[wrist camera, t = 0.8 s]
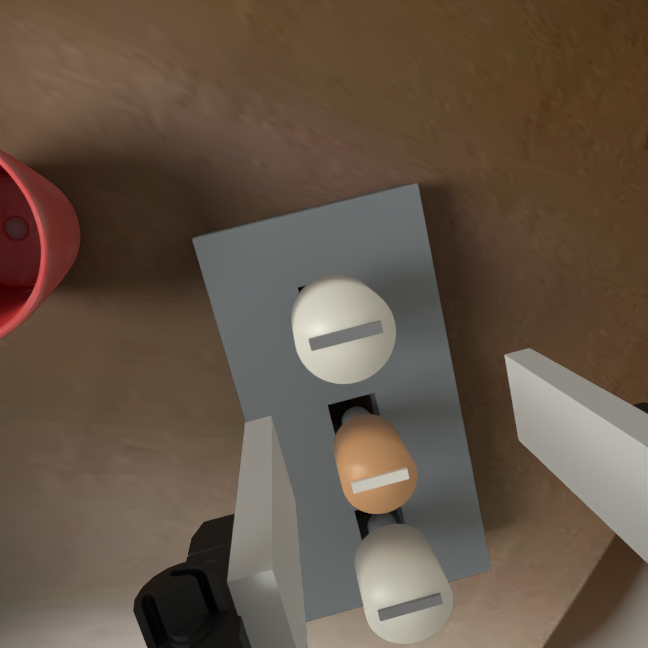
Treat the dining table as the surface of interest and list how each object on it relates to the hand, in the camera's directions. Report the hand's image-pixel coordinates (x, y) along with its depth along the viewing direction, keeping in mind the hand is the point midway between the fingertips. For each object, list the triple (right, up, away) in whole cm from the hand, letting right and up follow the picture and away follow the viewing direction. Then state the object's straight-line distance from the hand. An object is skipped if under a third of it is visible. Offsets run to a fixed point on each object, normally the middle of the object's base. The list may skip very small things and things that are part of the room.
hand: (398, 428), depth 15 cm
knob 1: (-2, +4, +18) cm, 19 cm away
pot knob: (0, -3, +20) cm, 21 cm away
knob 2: (+2, -11, +22) cm, 25 cm away
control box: (0, -3, +24) cm, 24 cm away
